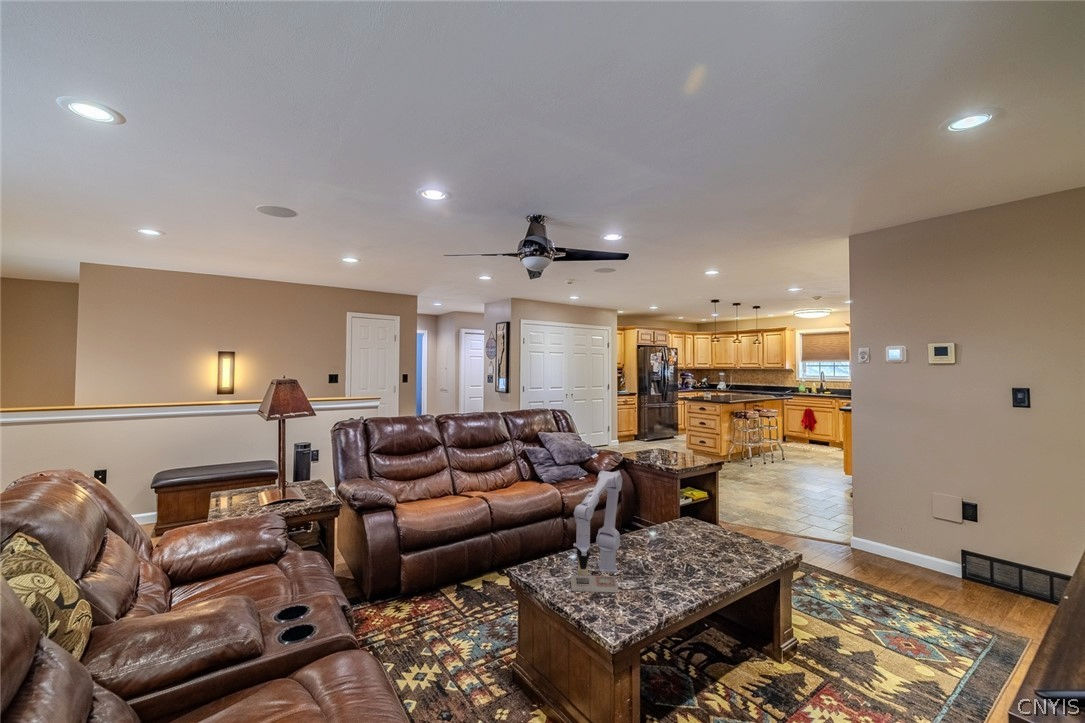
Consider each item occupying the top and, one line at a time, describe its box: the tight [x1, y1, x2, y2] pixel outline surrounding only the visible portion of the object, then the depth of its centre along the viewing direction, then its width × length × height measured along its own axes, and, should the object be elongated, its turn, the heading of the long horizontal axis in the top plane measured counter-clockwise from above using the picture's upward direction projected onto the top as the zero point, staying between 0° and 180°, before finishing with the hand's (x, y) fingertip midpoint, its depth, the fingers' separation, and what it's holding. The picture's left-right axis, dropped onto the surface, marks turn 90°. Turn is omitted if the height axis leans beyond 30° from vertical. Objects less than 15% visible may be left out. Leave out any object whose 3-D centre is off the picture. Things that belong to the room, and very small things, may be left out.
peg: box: [577, 557, 589, 576], centre depth 189 cm, size 4×4×8 cm
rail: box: [570, 574, 619, 593], centre depth 189 cm, size 10×19×2 cm, turn 88°
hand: (582, 566), depth 189 cm, fingers closed on peg, 4 cm apart
